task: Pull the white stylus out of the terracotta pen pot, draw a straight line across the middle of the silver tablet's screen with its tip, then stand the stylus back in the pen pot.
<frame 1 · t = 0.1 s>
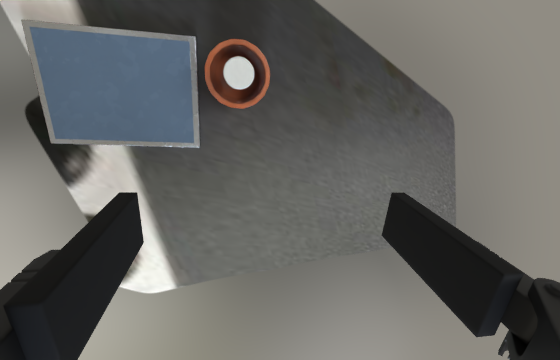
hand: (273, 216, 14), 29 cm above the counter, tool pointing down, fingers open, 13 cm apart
stylus: (237, 76, 38), resting on pen pot
tablet: (123, 90, 36), on the counter
pen pot: (237, 76, 38), on the counter
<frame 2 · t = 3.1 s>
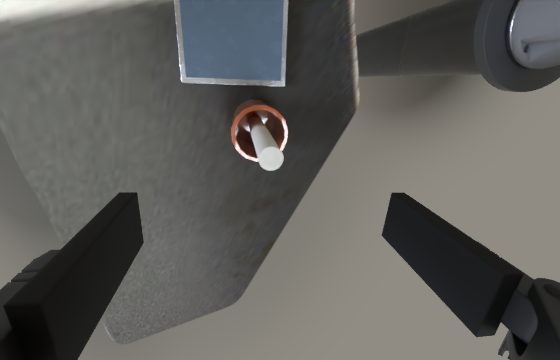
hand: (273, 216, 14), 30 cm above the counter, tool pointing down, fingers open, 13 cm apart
stylus: (254, 122, 42), resting on pen pot
tablet: (233, 6, 36), on the counter
pen pot: (254, 122, 42), on the counter
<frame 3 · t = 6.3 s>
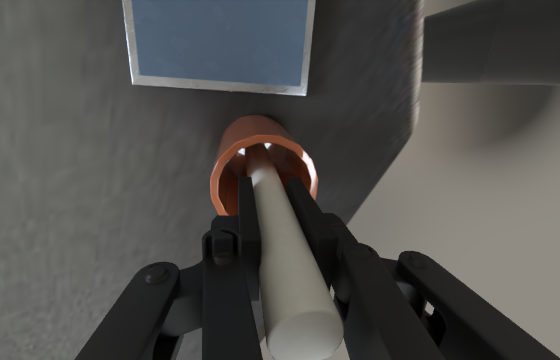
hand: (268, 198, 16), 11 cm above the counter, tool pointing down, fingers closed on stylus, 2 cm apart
stylus: (255, 151, 26), resting on pen pot, touching gripper
pen pot: (255, 150, 26), on the counter
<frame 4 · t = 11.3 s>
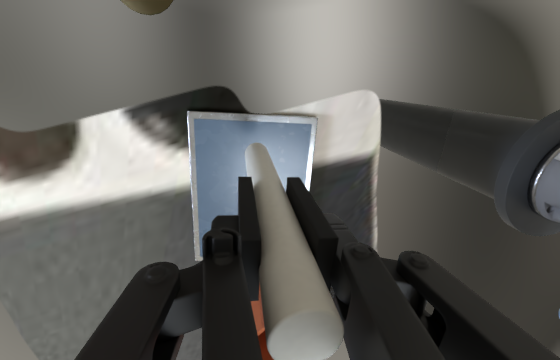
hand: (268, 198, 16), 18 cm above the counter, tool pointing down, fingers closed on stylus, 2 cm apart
stylus: (255, 151, 26), point 6 cm above the counter, touching gripper
tablet: (252, 191, 34), on the counter
pen pot: (268, 284, 40), on the counter
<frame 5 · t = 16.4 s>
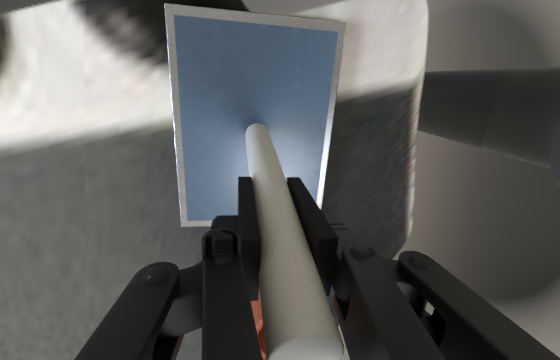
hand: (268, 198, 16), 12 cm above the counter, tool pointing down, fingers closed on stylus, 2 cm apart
stylus: (256, 131, 25), point 1 cm above the counter, tilted 7°, touching gripper
tablet: (255, 132, 26), on the counter
pen pot: (276, 261, 32), on the counter
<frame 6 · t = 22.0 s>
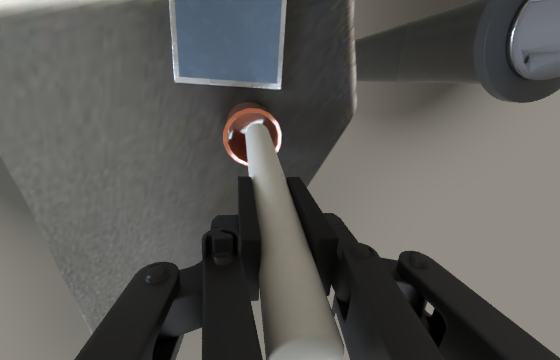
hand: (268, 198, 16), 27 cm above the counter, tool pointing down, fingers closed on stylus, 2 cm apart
stylus: (256, 131, 25), point 16 cm above the counter, tilted 7°, touching gripper
tablet: (229, 6, 35), on the counter
pen pot: (249, 124, 41), on the counter
when the fingers open (11 cm above the counter, at t = 26.4 s): stylus stays where it is, resting on pen pot.
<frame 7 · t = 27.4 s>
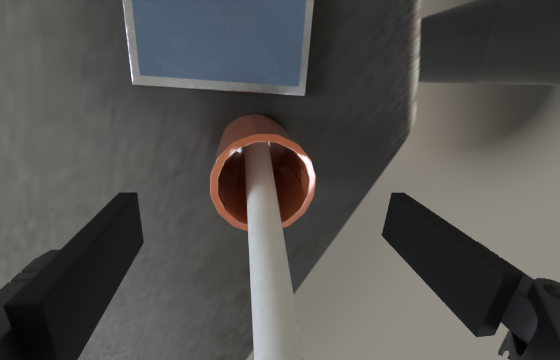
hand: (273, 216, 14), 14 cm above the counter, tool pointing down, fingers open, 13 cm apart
stylus: (254, 129, 26), resting on pen pot, tilted 22°
pen pot: (254, 149, 27), on the counter
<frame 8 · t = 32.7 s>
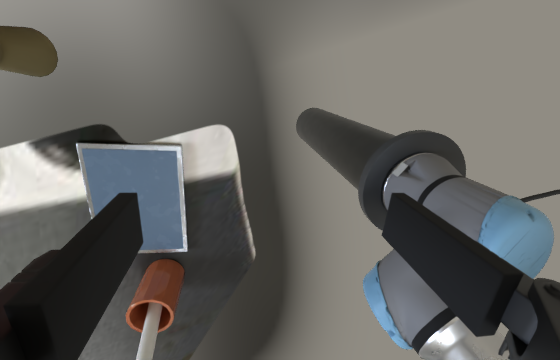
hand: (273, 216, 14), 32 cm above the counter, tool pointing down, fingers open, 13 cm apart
stylus: (163, 266, 50), resting on pen pot, tilted 22°
tablet: (139, 201, 45), on the counter
pen pot: (165, 273, 51), on the counter
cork: (33, 52, 35), on the counter
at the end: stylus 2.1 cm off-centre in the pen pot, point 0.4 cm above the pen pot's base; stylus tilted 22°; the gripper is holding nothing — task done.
